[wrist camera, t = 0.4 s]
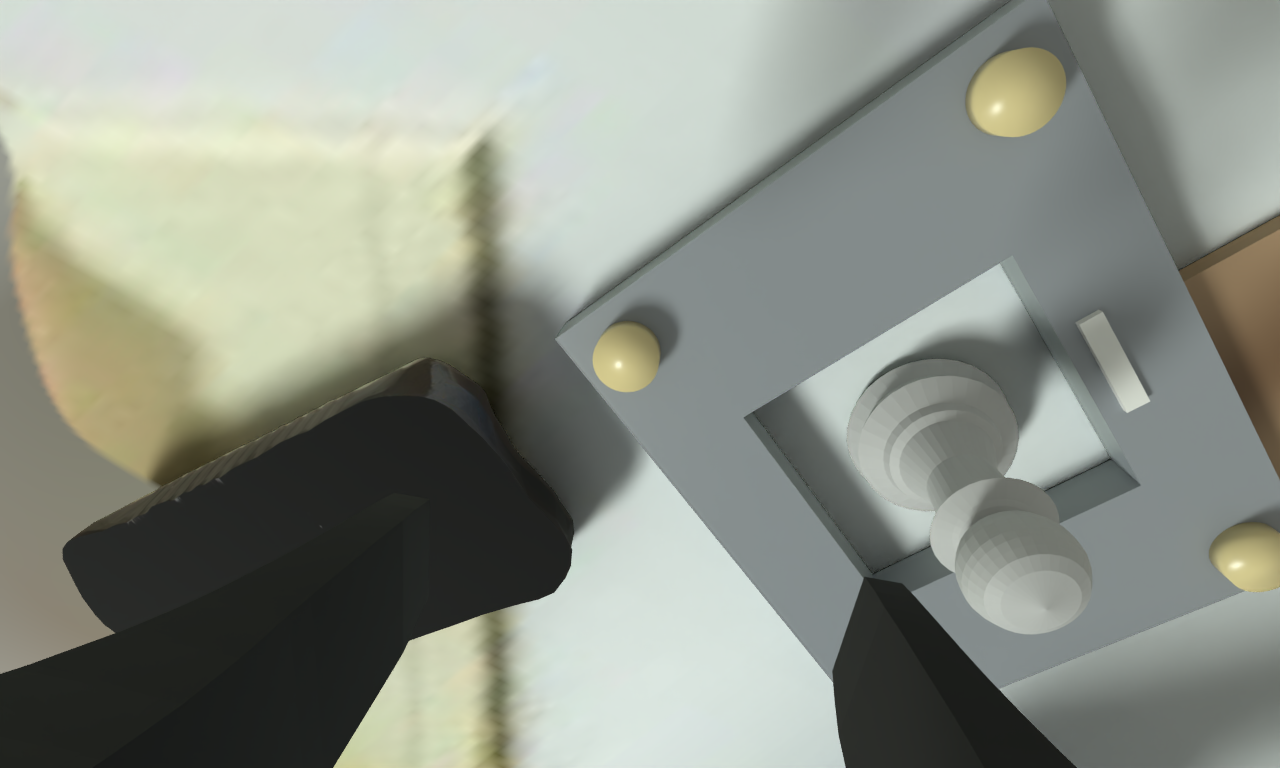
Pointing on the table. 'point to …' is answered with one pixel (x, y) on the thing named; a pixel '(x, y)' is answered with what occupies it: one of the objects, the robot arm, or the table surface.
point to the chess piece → (970, 492)
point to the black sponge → (342, 505)
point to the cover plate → (909, 282)
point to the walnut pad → (1246, 322)
